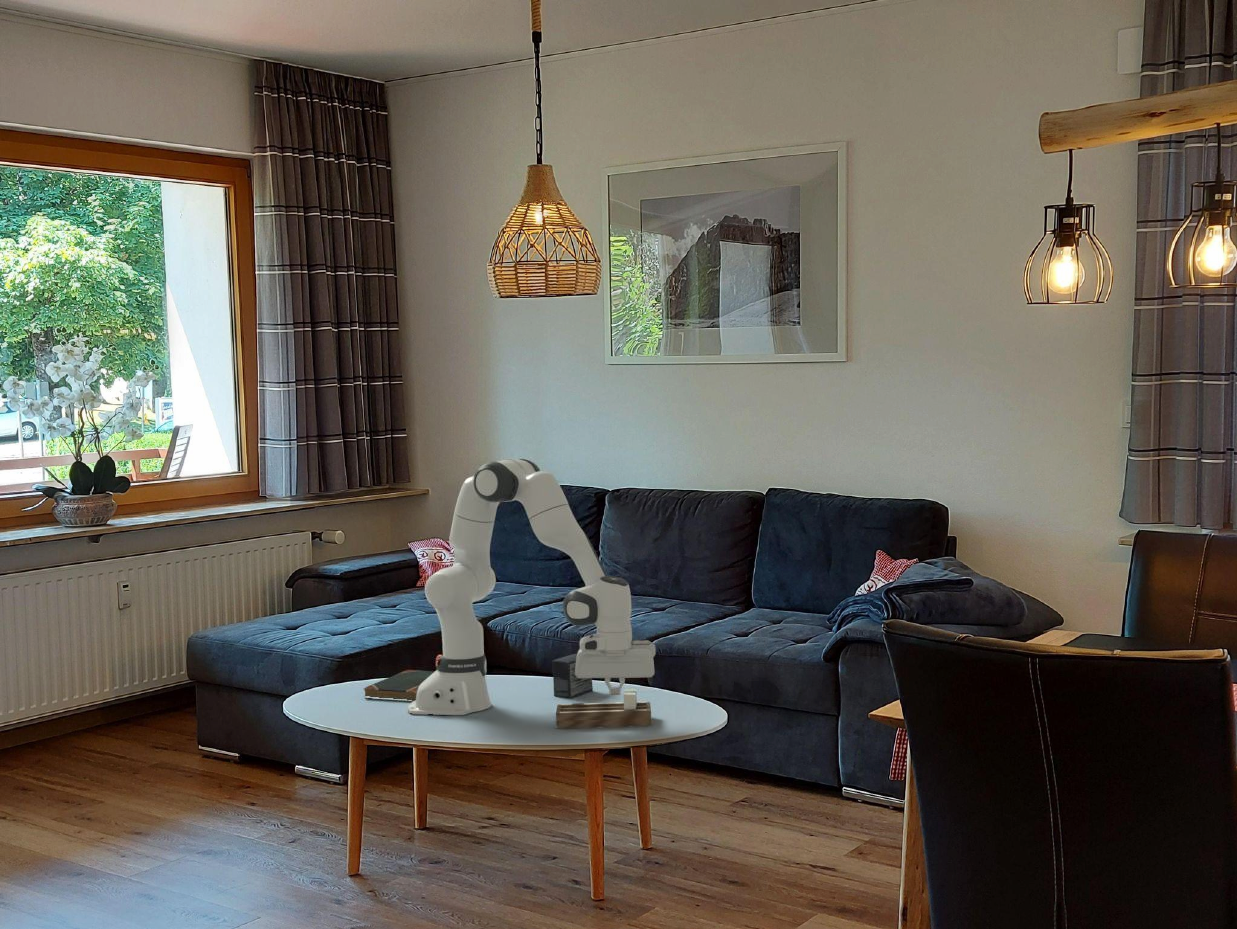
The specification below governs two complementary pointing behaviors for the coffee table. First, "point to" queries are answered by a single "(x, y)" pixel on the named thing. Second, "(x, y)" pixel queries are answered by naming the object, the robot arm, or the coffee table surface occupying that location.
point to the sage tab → (631, 692)
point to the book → (399, 685)
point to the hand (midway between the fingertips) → (615, 694)
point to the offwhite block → (629, 701)
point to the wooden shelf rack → (602, 715)
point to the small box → (569, 679)
